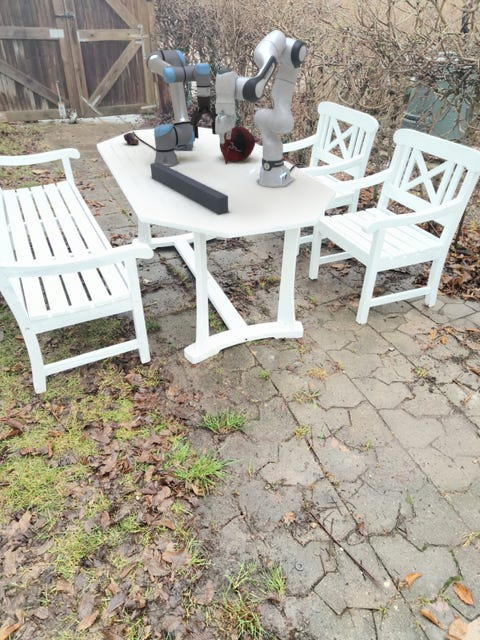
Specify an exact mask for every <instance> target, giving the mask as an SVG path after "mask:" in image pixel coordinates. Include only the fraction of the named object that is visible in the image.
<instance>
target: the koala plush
mask: <svg viewBox="0 0 480 640" xmlns="http://www.w3.org/2000/svg"><path fill="white" fill-rule="evenodd" d="M193 149H194V143H192V144H188V145H178V146H174V151H175V150H176V151H192V150H193Z"/></svg>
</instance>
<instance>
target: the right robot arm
mask: <svg viewBox="0 0 480 640" xmlns="http://www.w3.org/2000/svg"><path fill="white" fill-rule="evenodd" d="M307 55H308V47H307V44H306V42H305V41H303V40H301V39H296V38H293V37H287V36H286V35H285V34H284V32H283V31H281V30H279V29H274V30H271V32H269V33H268V34H267V35H265V36H264V37H263V39H261V40H260V42H259V43H258V44H257V45H256V47H255V48H254V51H253V60H254V63H255V65H256V66H257V67H258V68H259V69H260V70H259V71H258V73H257V75H254V76H251V77H250V76H249V77H248V76H241V75H238V74H237V73H236V72H235V71H234V69H232V68H221V69H219V70H218V71H217V72H216V75H215V85H214V86H215V89H214V91H215V95H216V98H215V109H216V114H218V116H217V117H216V121H215V133H216V135H218V138H219V144H220V143H221V144H223V143H224V142H225V139H224V133H226V132H227V135H226V139H230V138H231V131H232V128H234V127H236V121H237V119H236V118H237V111H238V106H237V105H236V100H237V101H244V102H248V103H252V104H255V103H258V102H259V101H260V100H261V98H262V97H263V95H264V92H265V90H266V87H267V86H268V84H269V82H270V80H271V79H272V77H273V75H274V73H275V72H276V69H277V66H278V64H279V63H280V65H279V68H278V69H277V72H276V75H275V78H274V81H273V85H272V89H271V92H270V96H271V99H272V100H273V109H272V108H268V107H265V108H259V109H258V110H256V112H255V114H254V118H253V119H254V120H253V123H254V125H255V126H256V128H257V130H258V131H259V135H260V138H261V142H262V143H261V144H262V157H261V166H260V169H259V178H258V179H257V182H259V185H261V186H262V187H266V188H278V187H280V188H281V187H282V188H283V187H284V188H285V187H287V186H288V185H290V184H291V183H292V182H293V181H294V179H295V178H294V177H293V176H291V171H292V170H293V169H294V168H295V167H296V166H298V167H299V166H301V164H300V163H295V164H294V165H293V166H291V168H290V169H289V167H287V165H285V162H286V161H287V160H288V159H287V157H284V156H283V153H284V151H283V150H284V143H283V141H282V140H281V139H280V136H279V135H287V134H290V133H291V132H292V131H293V130H294V127H295V118H294V116H293V113H292V99H293V95H294V90H295V88H296V85H297V81H298V77H299V69H300V66H301V65H303V63H304V62H305V60H306V58H307ZM255 171H256V169H255V168H253V169H251V170H250V171H248V172H249V174H251V173H253V172H255Z"/></svg>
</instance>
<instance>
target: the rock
mask: <svg viewBox="0 0 480 640" xmlns="http://www.w3.org/2000/svg"><path fill="white" fill-rule="evenodd" d="M134 133H135V132H134ZM134 133H133V132H127V133H125V134H123V139H124V141H125V142H126V143H127V144H128V145H139V144H140V140H139V139H138V138H137V137H136V136H135V135H134Z"/></svg>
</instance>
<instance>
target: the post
mask: <svg viewBox="0 0 480 640" xmlns="http://www.w3.org/2000/svg"><path fill="white" fill-rule="evenodd" d="M149 166H150V174H151V178H152V179H153V180H155V181H157V182H158V183H161V184H162V185H164V186H167V187H168V188H170V189H172V190H173V191H174V192H177V193H179V194H180V195H183V196H184V197H186V198H188V199H190V200H192V201H193V202H195V203H197V204H199V205H201V206H202V207H204V208H206V209H208V210H210V211H212V212H213V213H216V214H217V215H223V214H226V213H229V195H227V194H225V193H223V192H221V191H218V190H217V189H214V188H212V187H211V186H208V185H207V184H205V183H202V182H200V181H198V180H196V179H194V178H193V177H190V176H187V175H186V174H184V173H182V172H179V171H177V170H175V169H173V168H171V167H170V166H168V167H167V166H165V165H163V164H161V163H159V162H158V163H155V162H154V163H150V164H149Z"/></svg>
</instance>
